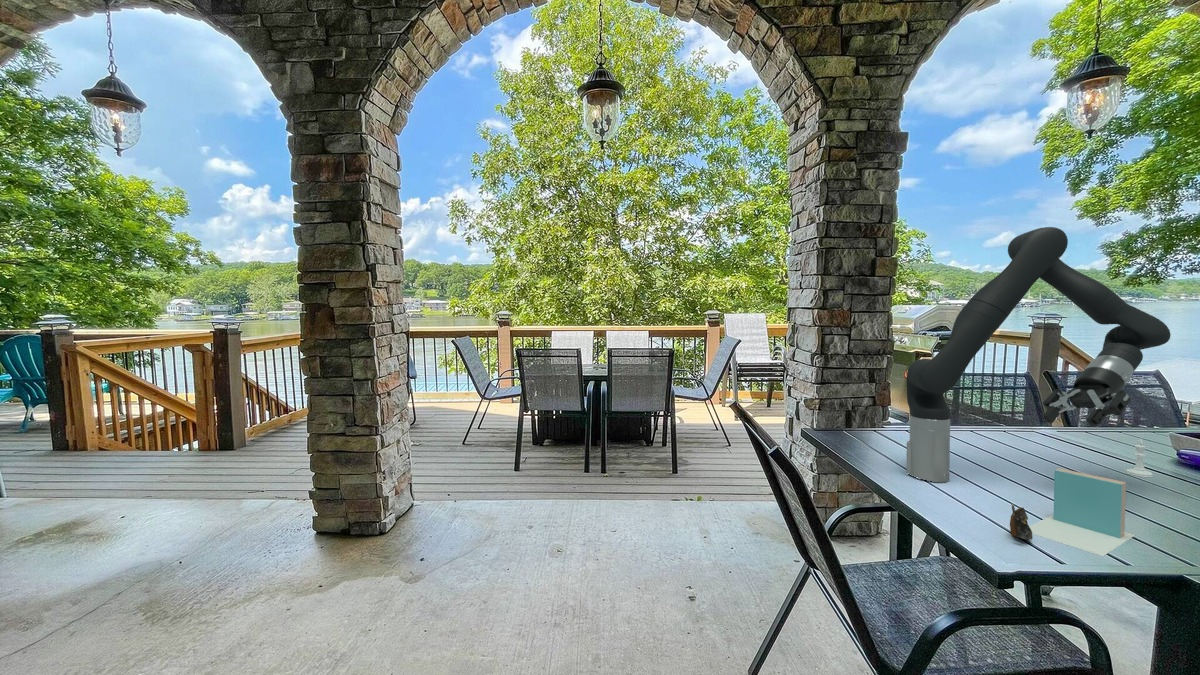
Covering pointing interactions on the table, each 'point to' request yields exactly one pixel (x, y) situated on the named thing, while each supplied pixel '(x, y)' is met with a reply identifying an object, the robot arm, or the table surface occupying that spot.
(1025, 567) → the table surface
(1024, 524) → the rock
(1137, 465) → the chess piece
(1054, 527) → the mat
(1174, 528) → the table surface
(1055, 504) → the tile
